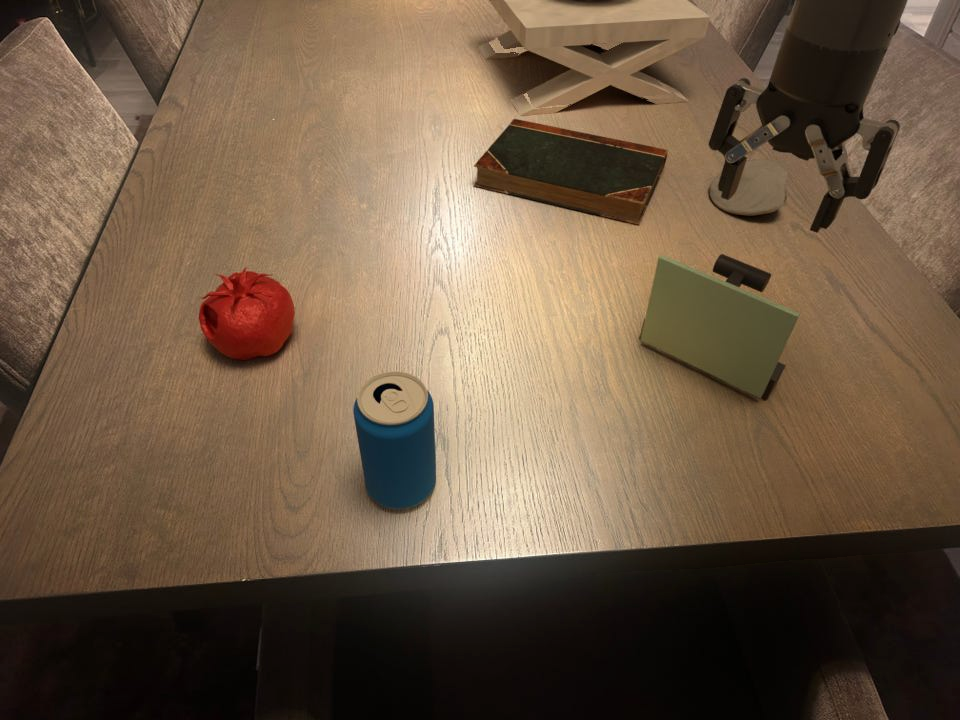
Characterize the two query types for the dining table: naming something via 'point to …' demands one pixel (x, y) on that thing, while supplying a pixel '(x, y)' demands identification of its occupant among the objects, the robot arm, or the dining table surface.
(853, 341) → the dining table surface
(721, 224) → the dining table surface
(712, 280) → the sign
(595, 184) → the book
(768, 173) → the seashell
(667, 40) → the wooden side table
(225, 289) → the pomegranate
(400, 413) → the beverage can
